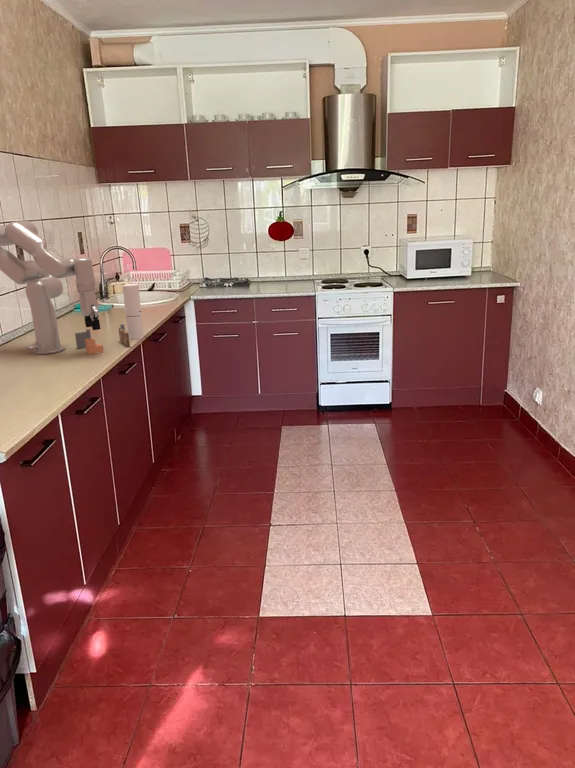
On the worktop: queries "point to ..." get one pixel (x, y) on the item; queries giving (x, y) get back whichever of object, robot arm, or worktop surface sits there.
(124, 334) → the door
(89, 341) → the orange l-shaped block
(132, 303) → the cylindrical container
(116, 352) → the worktop surface
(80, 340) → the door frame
